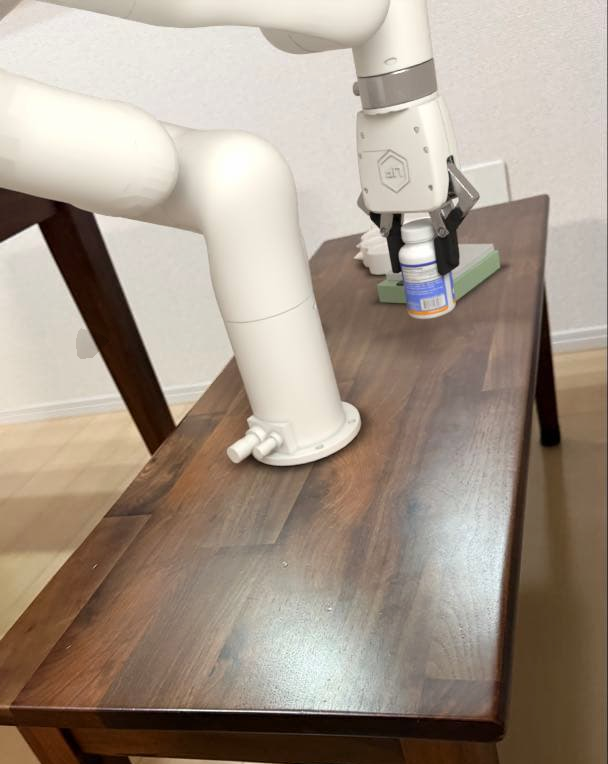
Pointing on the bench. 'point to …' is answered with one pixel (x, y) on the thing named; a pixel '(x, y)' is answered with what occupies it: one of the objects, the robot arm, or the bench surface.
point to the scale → (469, 273)
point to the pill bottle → (424, 272)
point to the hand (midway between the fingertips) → (425, 268)
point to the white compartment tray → (376, 250)
